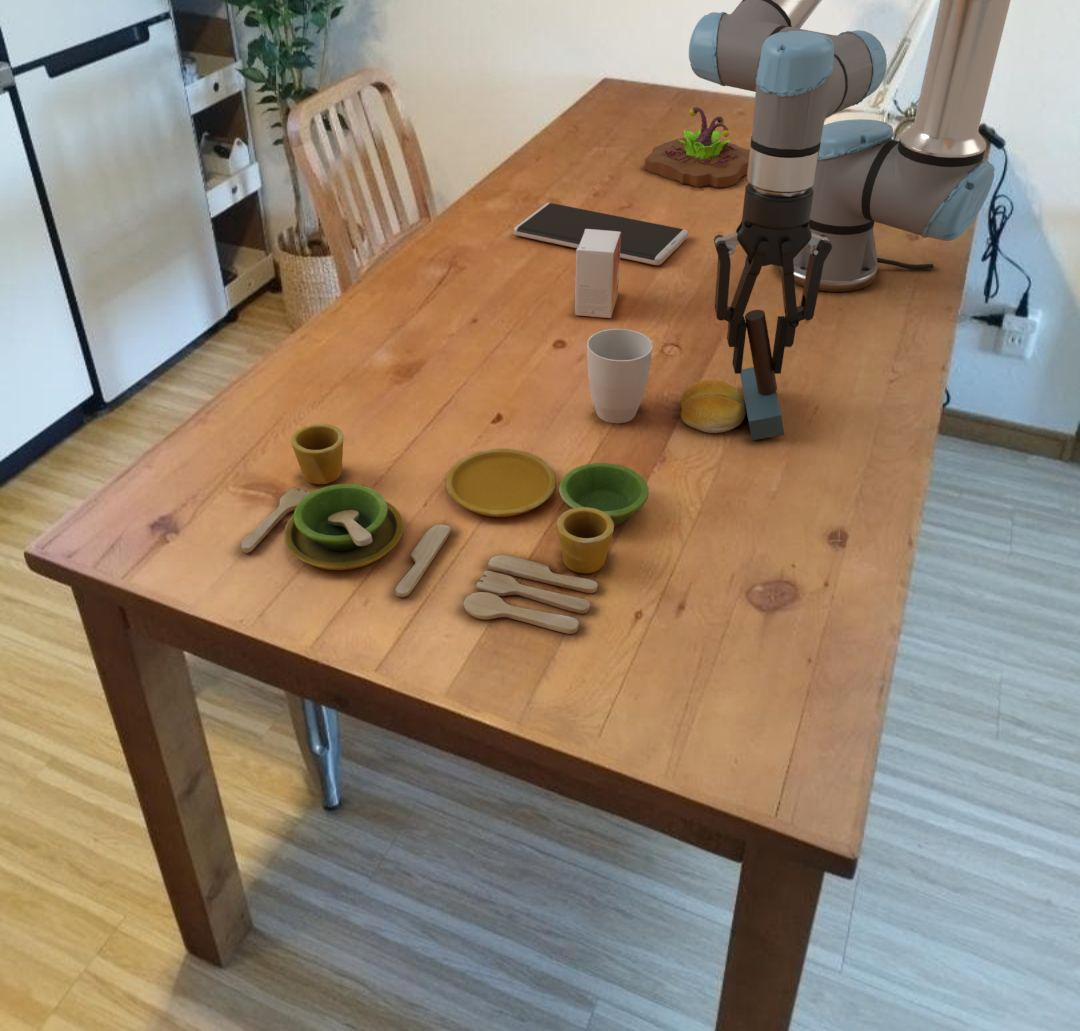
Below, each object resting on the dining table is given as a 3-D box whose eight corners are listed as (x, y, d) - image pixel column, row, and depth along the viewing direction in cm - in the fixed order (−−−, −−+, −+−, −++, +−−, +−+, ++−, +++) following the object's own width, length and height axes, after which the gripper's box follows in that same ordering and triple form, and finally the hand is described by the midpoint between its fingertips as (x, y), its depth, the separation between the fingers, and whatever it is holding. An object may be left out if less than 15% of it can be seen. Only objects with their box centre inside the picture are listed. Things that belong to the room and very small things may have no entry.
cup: (654, 402, 140) (659, 334, 134) (638, 435, 134) (643, 365, 128) (595, 391, 143) (597, 324, 136) (576, 423, 137) (578, 354, 130)
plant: (681, 143, 219) (686, 86, 212) (768, 163, 210) (776, 104, 203) (630, 171, 206) (633, 112, 199) (720, 194, 197) (726, 133, 190)
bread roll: (680, 434, 135) (683, 407, 132) (680, 397, 142) (682, 370, 139) (746, 438, 134) (750, 410, 132) (743, 400, 141) (746, 373, 139)
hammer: (774, 382, 142) (759, 289, 133) (786, 434, 132) (770, 337, 124) (742, 388, 143) (725, 296, 134) (752, 440, 133) (734, 345, 125)
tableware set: (224, 553, 116) (213, 506, 112) (347, 422, 137) (341, 379, 133) (584, 648, 105) (586, 600, 101) (660, 489, 125) (664, 445, 121)
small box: (611, 319, 159) (614, 252, 152) (574, 316, 160) (575, 249, 153) (619, 295, 165) (622, 230, 158) (583, 292, 166) (584, 227, 159)
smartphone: (547, 210, 191) (547, 200, 190) (689, 238, 182) (690, 228, 181) (511, 237, 182) (511, 227, 181) (659, 268, 172) (660, 258, 171)
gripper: (850, 172, 122) (820, 353, 136) (699, 172, 123) (684, 353, 137) (865, 197, 116) (831, 383, 130) (705, 197, 117) (689, 383, 131)
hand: (756, 367), depth 134 cm, fingers closed on hammer, 4 cm apart
